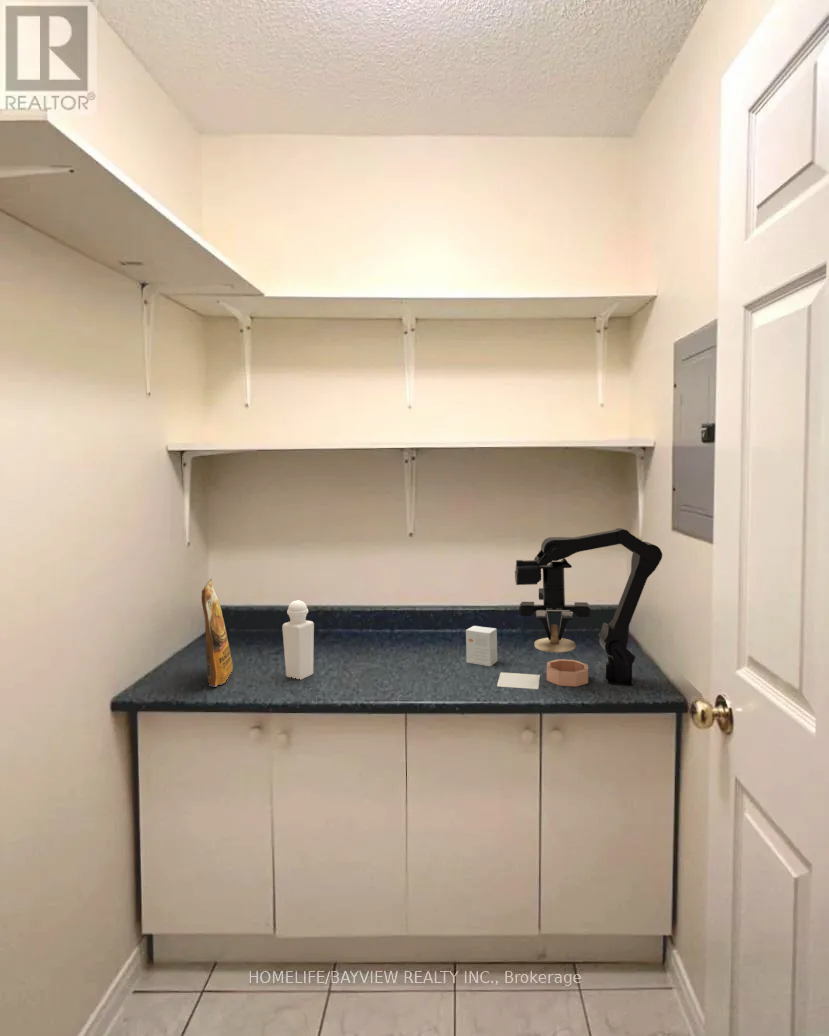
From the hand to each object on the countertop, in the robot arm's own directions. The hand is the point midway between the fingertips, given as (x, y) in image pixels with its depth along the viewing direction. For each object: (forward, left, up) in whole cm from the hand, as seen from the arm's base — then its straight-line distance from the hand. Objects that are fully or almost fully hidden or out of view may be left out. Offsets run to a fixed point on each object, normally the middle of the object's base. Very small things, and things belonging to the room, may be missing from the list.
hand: (554, 639), depth 169 cm
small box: (+22, -11, -12) cm, 27 cm away
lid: (0, 0, -2) cm, 2 cm away
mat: (+10, +3, -12) cm, 15 cm away
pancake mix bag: (+94, +17, -12) cm, 96 cm away
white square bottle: (+72, +10, -12) cm, 73 cm away
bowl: (-3, -1, -12) cm, 12 cm away
